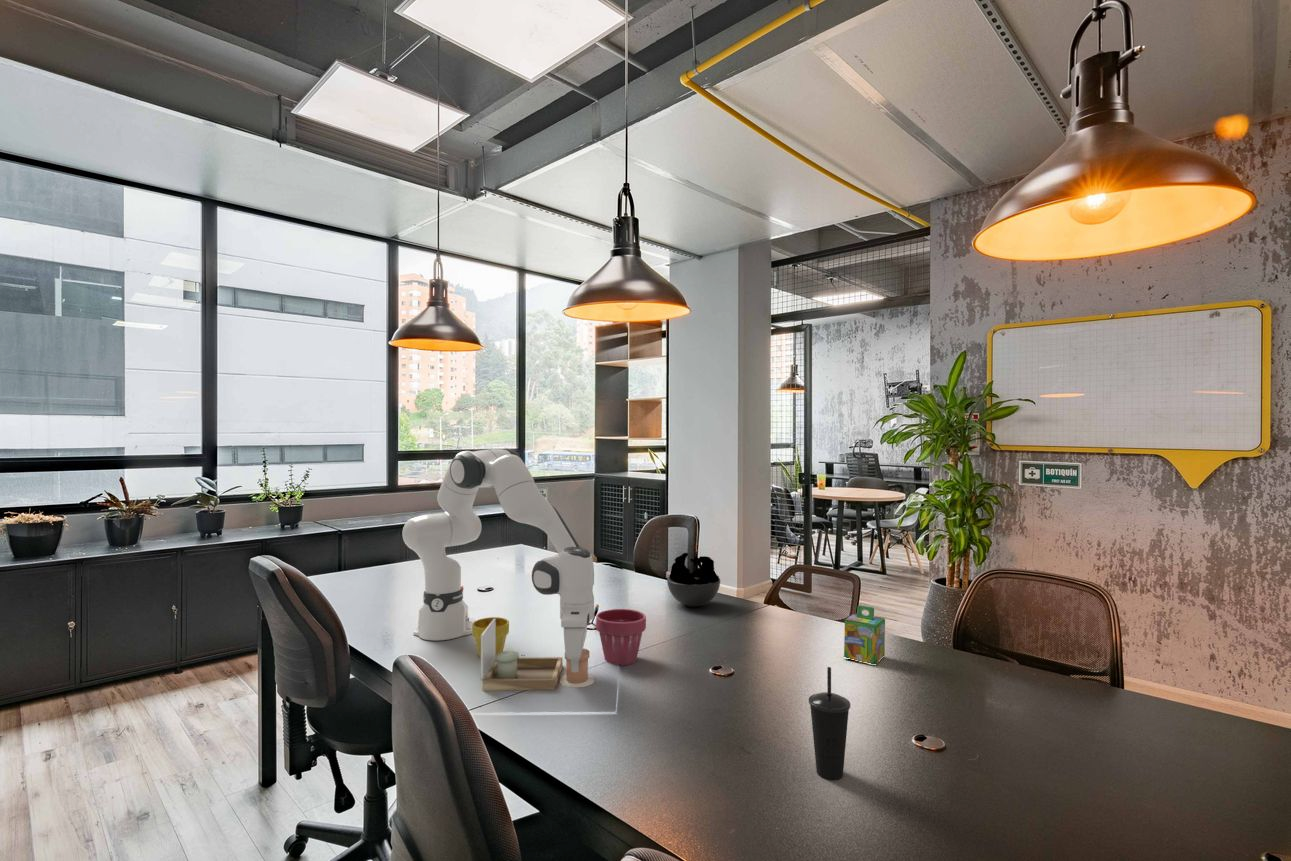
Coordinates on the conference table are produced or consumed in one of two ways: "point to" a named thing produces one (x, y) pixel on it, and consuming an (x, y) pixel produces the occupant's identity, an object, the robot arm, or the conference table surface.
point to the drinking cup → (829, 731)
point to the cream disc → (567, 684)
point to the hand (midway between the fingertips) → (577, 664)
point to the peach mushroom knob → (583, 669)
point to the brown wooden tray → (527, 675)
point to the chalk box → (864, 636)
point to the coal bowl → (693, 581)
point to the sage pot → (507, 664)
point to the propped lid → (488, 649)
